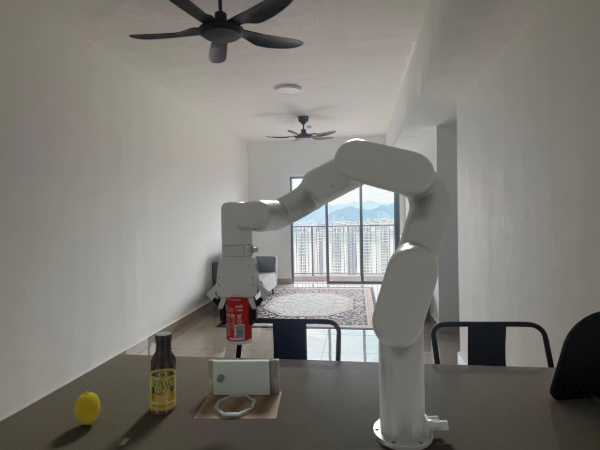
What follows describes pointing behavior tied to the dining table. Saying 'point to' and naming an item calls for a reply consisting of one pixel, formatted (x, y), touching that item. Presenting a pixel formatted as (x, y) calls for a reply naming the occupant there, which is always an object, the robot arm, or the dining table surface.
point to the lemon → (87, 408)
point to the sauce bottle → (163, 375)
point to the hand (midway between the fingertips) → (238, 323)
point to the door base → (242, 401)
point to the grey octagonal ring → (234, 414)
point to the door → (243, 377)
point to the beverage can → (238, 320)
